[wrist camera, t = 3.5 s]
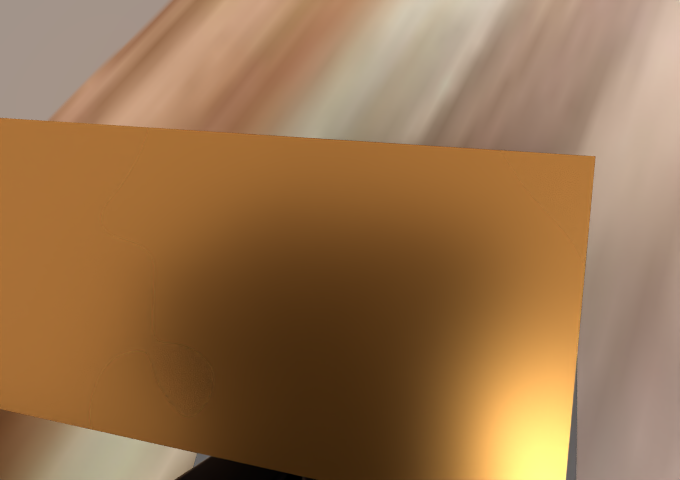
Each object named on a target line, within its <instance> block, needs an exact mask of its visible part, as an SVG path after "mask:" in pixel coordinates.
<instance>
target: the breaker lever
mask: <svg viewBox="0 0 680 480" xmlns="http://www.w3.org/2000/svg"><path fill="white" fill-rule="evenodd" d="M594 166H595V156H580V155H565V154H549V153H534V152H519V151H503V150H488V149H472V148H457V147H441V146H426V145H410V144H395V143H379V142H364V141H349V140H333V139H318V138H302V137H287V136H271V135H256V134H240V133H225V132H209V131H194V130H179V129H163V128H148V127H132V126H117V125H101V124H86V123H70V122H55V121H39V120H23V119H8V118H0V409H2V410H7V411H11V412H16V413H20V414H25V415H29V416H34V417H38V418H43V419H47V420H52V421H56V422H61V423H65V424H70V425H74V426H79V427H83V428H88V429H92V430H97V431H101V432H106V433H110V434H115V435H119V436H124V437H128V438H132V439H137V440H141V441H146V442H150V443H155V444H159V445H164V446H168V447H173V448H177V449H182V450H186V451H191V452H195V453H200V454H204V455H209V456H213V457H218V458H222V459H227V460H231V461H236V462H240V463H245V464H249V465H254V466H258V467H263V468H267V469H271V470H276V471H280V472H285V473H289V474H294V475H298V476H303V477H307V478H312V479H316V480H566V470H567V459H568V449H569V438H570V427H571V416H572V405H573V394H574V384H575V373H576V362H577V351H578V340H579V329H580V318H581V308H582V297H583V286H584V275H585V264H586V253H587V242H588V232H589V221H590V210H591V199H592V188H593V177H594Z"/></svg>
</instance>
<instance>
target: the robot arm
mask: <svg viewBox="0 0 680 480" xmlns="http://www.w3.org/2000/svg"><path fill="white" fill-rule="evenodd" d="M175 480H316V479H312V478H307V477H303V476H298V475H294V474H289V473H285V472H280V471H276V470H271V469H267V468H263V467H258V466H254V465H249V464H245V463H240V462H236V461H231V460H227V459H222V458H218V457H213V456H210V457H208V458H207V459H205V460H204V461H202V462H201V463H199V464H198V465H196V466H195V467H193V468H192V469H190V470H189V471H187V472H186V473H184V474H183V475H181V476H180V477H178V478H177V479H175Z"/></svg>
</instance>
